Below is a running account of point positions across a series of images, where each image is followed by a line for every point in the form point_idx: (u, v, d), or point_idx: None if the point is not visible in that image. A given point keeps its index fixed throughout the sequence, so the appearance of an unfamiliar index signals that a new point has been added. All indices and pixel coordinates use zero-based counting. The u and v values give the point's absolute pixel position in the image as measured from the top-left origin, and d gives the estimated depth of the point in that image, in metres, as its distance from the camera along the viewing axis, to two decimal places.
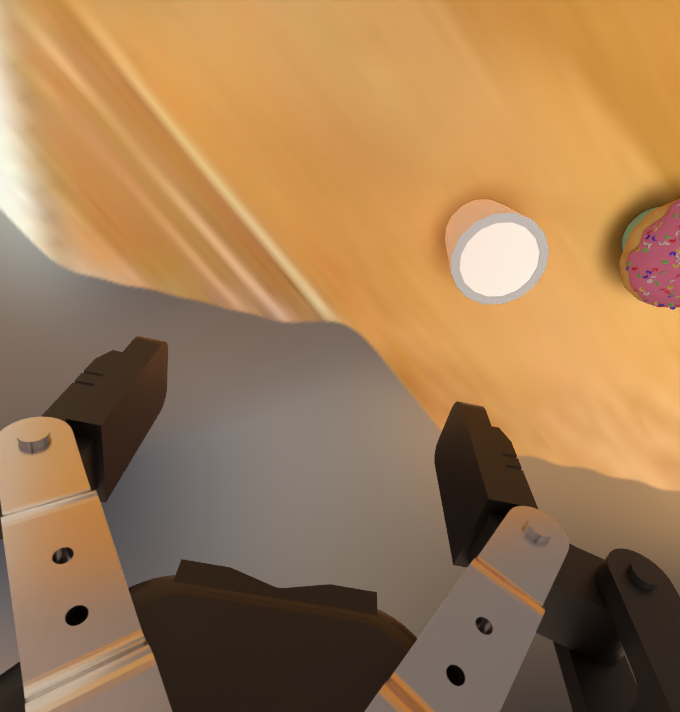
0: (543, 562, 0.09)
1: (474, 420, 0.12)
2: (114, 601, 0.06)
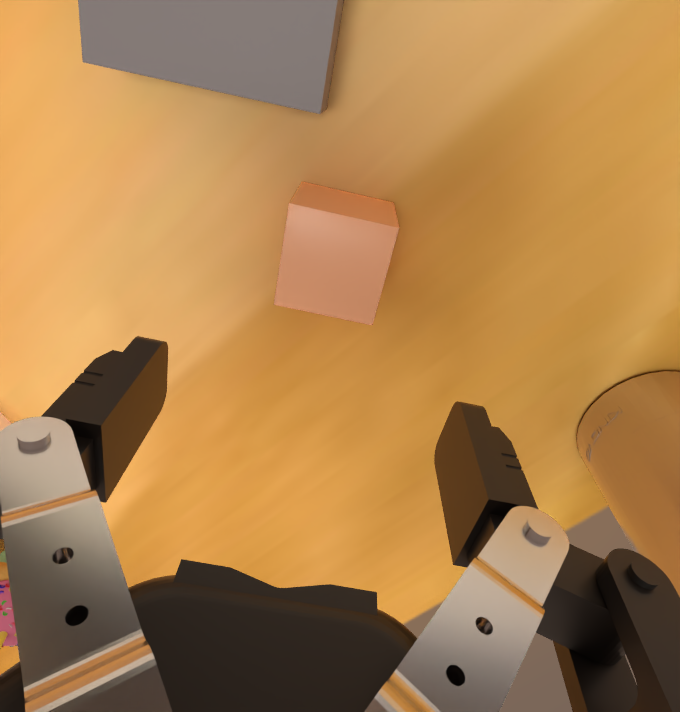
0: (543, 562, 0.09)
1: (474, 420, 0.12)
2: (113, 600, 0.06)
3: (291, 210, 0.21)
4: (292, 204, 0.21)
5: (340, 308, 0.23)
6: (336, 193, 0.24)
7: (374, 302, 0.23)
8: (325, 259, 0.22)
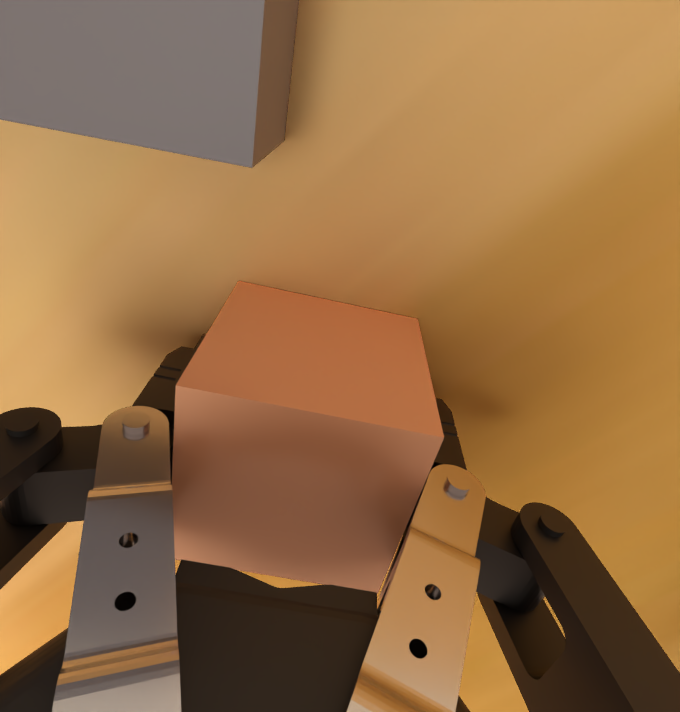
0: (457, 512, 0.09)
1: None
2: (160, 597, 0.06)
3: (183, 400, 0.09)
4: (184, 387, 0.09)
5: (310, 567, 0.11)
6: (304, 311, 0.12)
7: (382, 559, 0.11)
8: (273, 489, 0.10)
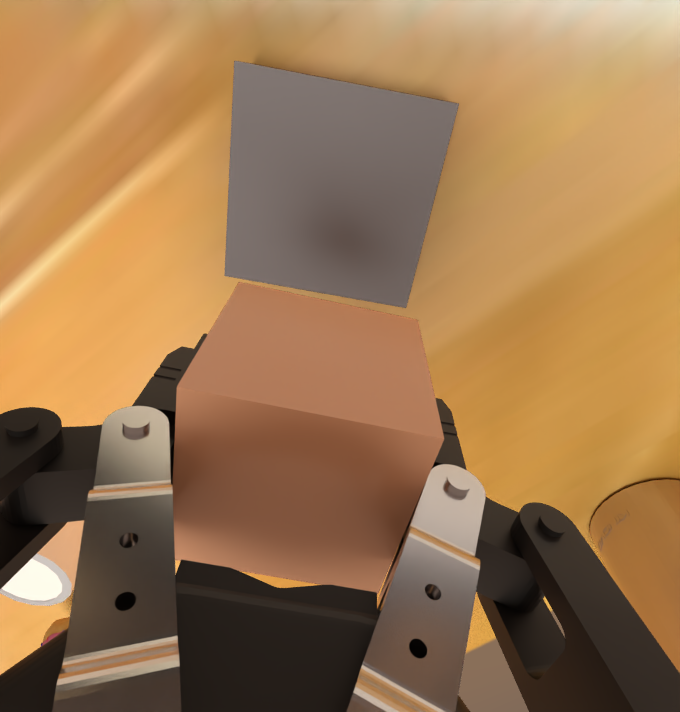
0: (457, 512, 0.09)
1: None
2: (160, 596, 0.06)
3: (184, 401, 0.09)
4: (185, 388, 0.09)
5: (310, 568, 0.11)
6: (304, 313, 0.12)
7: (382, 560, 0.11)
8: (273, 490, 0.10)
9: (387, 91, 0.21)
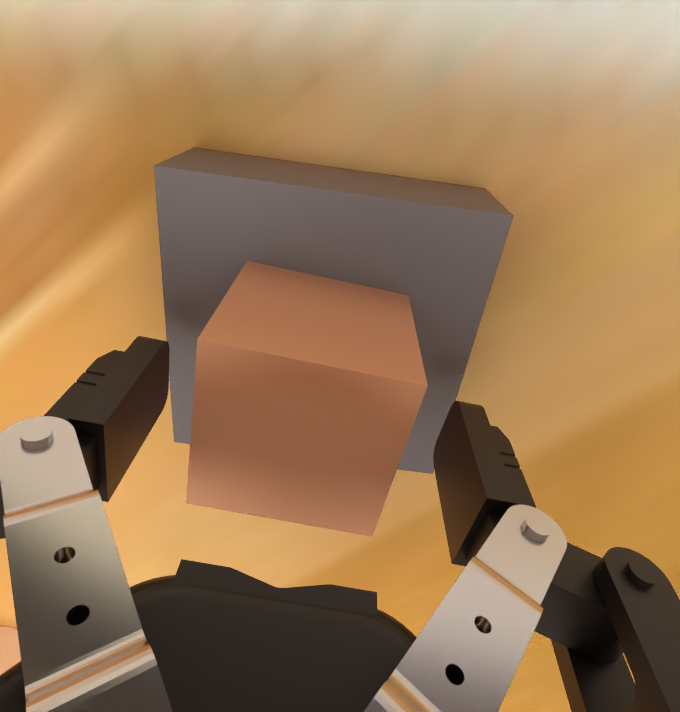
0: (541, 561, 0.09)
1: (473, 419, 0.12)
2: (114, 600, 0.06)
3: (203, 352, 0.10)
4: (204, 341, 0.10)
5: (311, 511, 0.12)
6: (306, 287, 0.14)
7: (376, 503, 0.12)
8: (279, 436, 0.11)
9: (399, 201, 0.13)
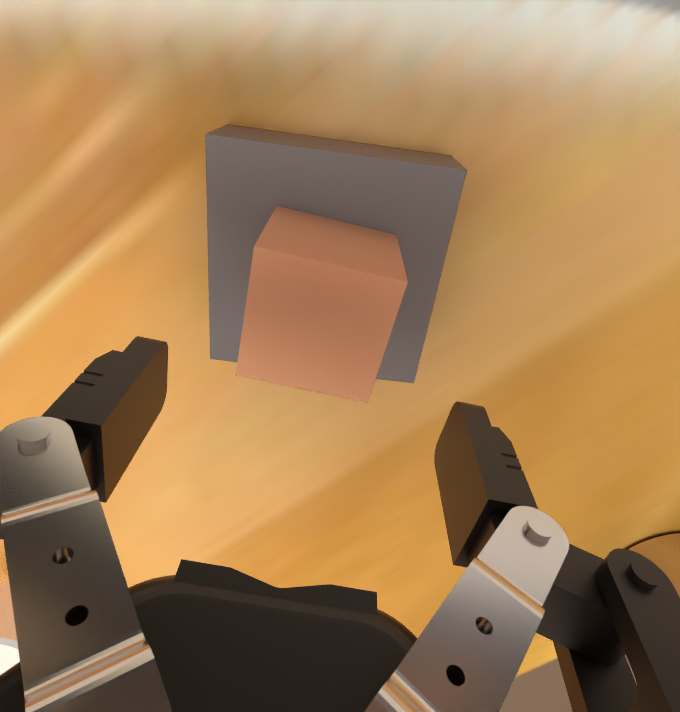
0: (543, 562, 0.09)
1: (474, 420, 0.12)
2: (113, 601, 0.06)
3: (257, 255, 0.15)
4: (258, 247, 0.15)
5: (325, 381, 0.17)
6: (321, 224, 0.18)
7: (371, 375, 0.17)
8: (305, 320, 0.16)
9: (384, 160, 0.18)
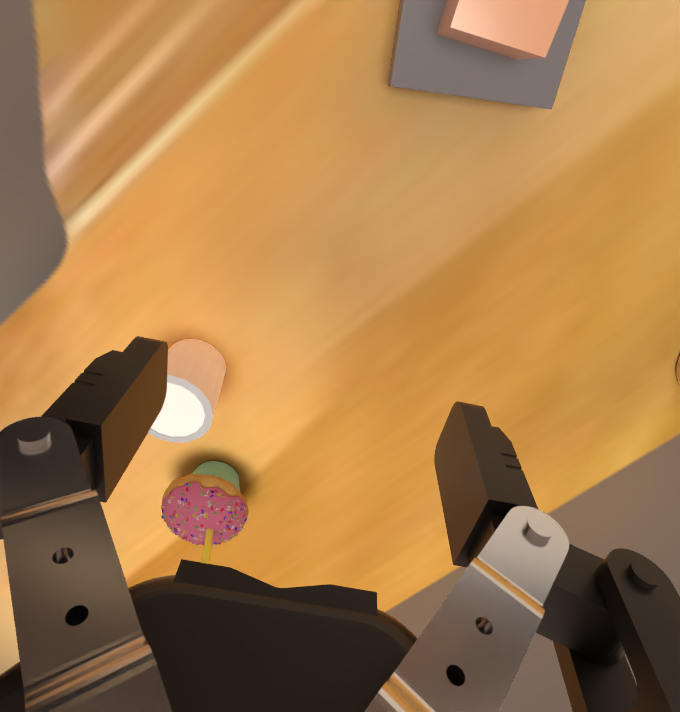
0: (543, 562, 0.09)
1: (474, 420, 0.12)
2: (113, 601, 0.06)
3: None
4: None
5: (517, 34, 0.23)
6: None
7: (553, 27, 0.23)
8: None
9: None
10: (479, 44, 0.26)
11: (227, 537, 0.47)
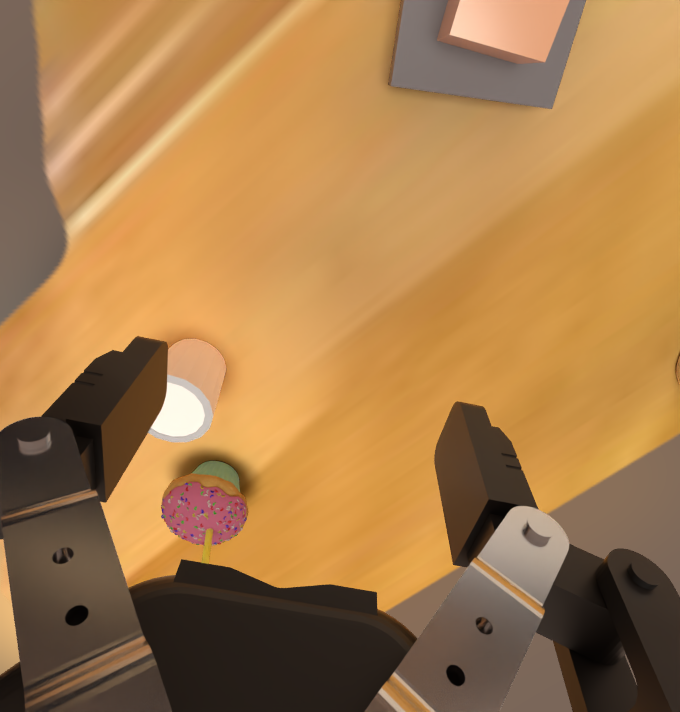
0: (543, 562, 0.09)
1: (474, 420, 0.12)
2: (114, 601, 0.06)
3: None
4: None
5: (516, 39, 0.23)
6: None
7: (552, 32, 0.23)
8: None
9: None
10: (479, 50, 0.26)
11: (227, 537, 0.47)
